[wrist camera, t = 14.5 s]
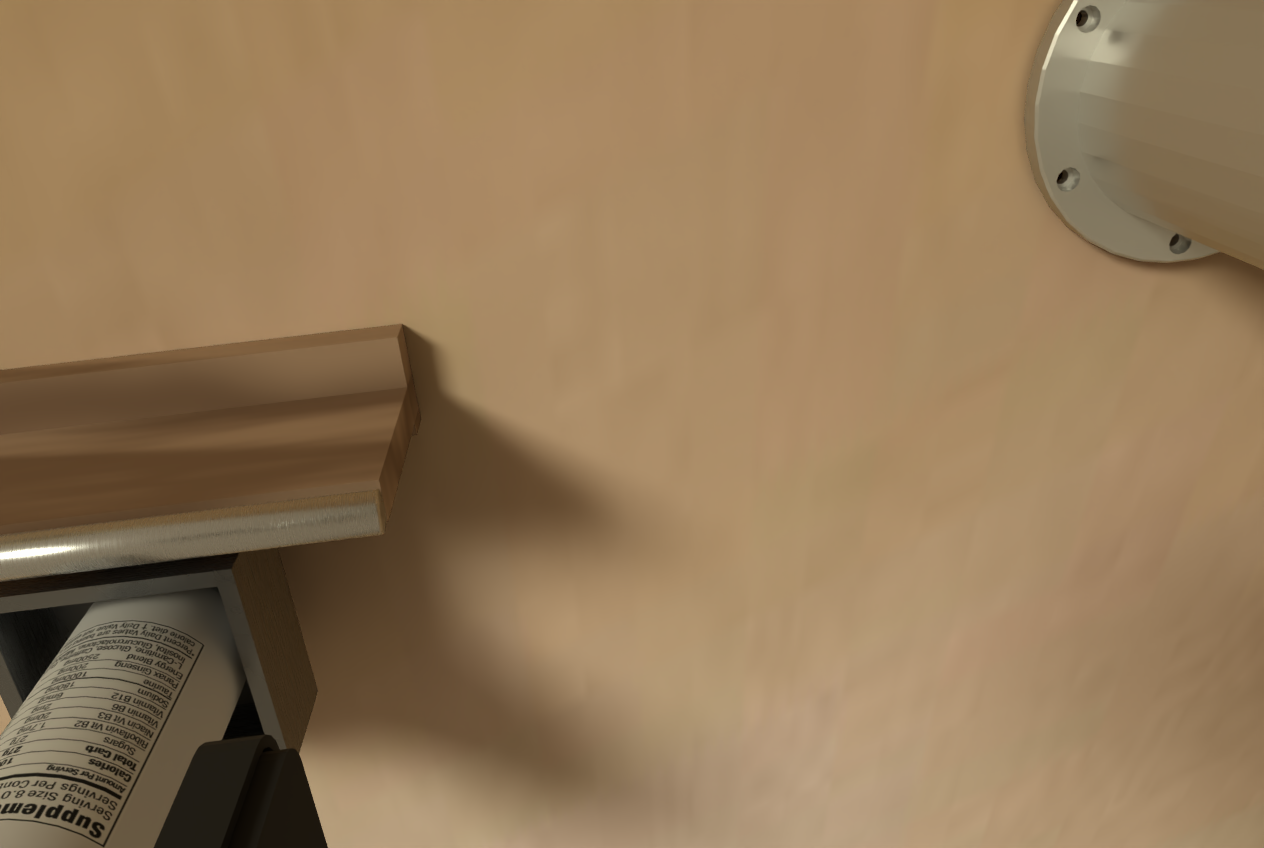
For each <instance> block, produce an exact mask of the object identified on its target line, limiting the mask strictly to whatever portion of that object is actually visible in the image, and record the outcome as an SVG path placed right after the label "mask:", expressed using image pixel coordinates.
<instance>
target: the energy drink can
mask: <svg viewBox="0 0 1264 848" xmlns="http://www.w3.org/2000/svg"><path fill="white" fill-rule="evenodd" d="M246 680H247V677H246V674H245V671H244V668H243V665H242V662H241V658H240V655H239V652H238V649H237V646H236V643H235V640H234V636H233V633H232V630H231V627H230V624H229V621H228V618H227V614H226V611H225V608H224V605H223V602H222V599H221V595H220V592H219V589H218V588H217V587H210V588H202V589H194V590H186V591H178V592H170V593H162V594H154V595H145V596H137V597H129V598H121V599H113V600H105V601H97V602H94V603H93V604H92V606H91V607H90V608H89V610H88V611H87V613H86V614H85V616H84V617H83V618H82V620H81V621H80V623H79V624H78V626H77V627H76V628H75V630H74V631H73V633H72V634H71V636H70V637H69V638H68V640H67V641H66V643H65V644H64V646H63V647H62V648H61V650H60V651H59V653H58V654H57V655H56V657H55V658H54V660H53V661H52V663H51V664H50V665H49V667H48V668H47V670H46V671H45V673H44V674H43V675H42V677H41V678H40V680H39V681H38V683H37V684H36V685H35V687H34V688H33V690H32V691H31V693H30V694H29V695H28V697H27V698H26V700H25V701H24V703H23V704H22V705H21V707H20V708H19V710H18V711H17V713H16V714H15V715H14V717H13V718H12V720H11V721H10V722H9V724H8V725H7V727H6V728H5V730H4V731H3V732H2V734H1V735H0V848H154V845H155V843H156V841H157V838H158V836H159V834H160V832H161V829H162V827H163V825H164V822H165V820H166V818H167V815H168V813H169V811H170V809H171V806H172V804H173V802H174V799H175V797H176V795H177V792H178V790H179V788H180V785H181V783H182V781H183V779H184V776H185V774H186V772H187V769H188V767H189V765H190V762H191V760H192V758H193V756H194V754H195V752H196V751H197V749H198V747H199V746H200V745H202V744H203V743H205V742H211V741H219V740H222V738H223V736H224V733H225V731H226V728H227V726H228V723H229V721H230V719H231V716H232V714H233V711H234V709H235V706H236V704H237V702H238V699H239V697H240V694H241V692H242V689H243V687H244V685H245V682H246Z"/></svg>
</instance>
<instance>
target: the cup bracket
mask: <svg viewBox="0 0 1264 848" xmlns="http://www.w3.org/2000/svg"><path fill="white" fill-rule="evenodd" d="M420 421H421V416H420V411H419V406H418V401H417V396H416V391H415V386H414V381H413V376H412V371H411V366H410V361H409V356H408V351H407V346H406V341H405V336H404V331H403V326H402V324H399V325H390V326H381V327H373V328H364V329H355V330H346V331H338V332H329V333H320V334H312V335H303V336H294V337H285V338H277V339H268V340H259V341H251V342H242V343H233V344H225V345H216V346H207V347H198V348H190V349H181V350H172V351H164V352H155V353H146V354H137V355H129V356H120V357H111V358H103V359H94V360H85V361H77V362H68V363H59V364H50V365H42V366H33V367H24V368H16V369H7V370H0V695H1V697H2V699H3V702H4V704H5V706H6V708H7V710H8V713H9V715H10V717H11V719H12V718H13V717H14V715H15V714H16V713H17V711H18V710H19V708H20V707H21V705H22V704H23V703H24V701H25V700H26V698H27V697H28V695H29V694H30V693H31V691H32V690H33V688H34V687H35V685H36V684H37V683H38V681H39V680H40V678H41V677H42V675H43V674H44V673H45V671H46V670H47V668H48V667H49V665H50V664H51V663H52V661H53V660H54V658H55V657H56V655H57V654H58V653H59V651H60V650H61V648H62V647H63V646H64V644H65V643H66V641H67V640H68V638H69V637H70V636H71V634H72V633H73V631H74V630H75V628H76V627H77V626H78V624H79V623H80V621H81V620H82V618H83V617H84V616H85V614H86V613H87V611H88V610H89V608H90V607H91V606H92V604H93V603H94V602H97V601H105V600H113V599H121V598H129V597H137V596H145V595H154V594H162V593H170V592H178V591H186V590H194V589H202V588H210V587H217V588H218V589H219V592H220V595H221V599H222V602H223V605H224V608H225V611H226V614H227V618H228V621H229V624H230V627H231V630H232V633H233V636H234V640H235V643H236V646H237V649H238V652H239V655H240V658H241V662H242V665H243V668H244V671H245V674H246V677H247V680H246V682H245V685H244V687H243V689H242V692H241V694H240V697H239V699H238V702H237V704H236V706H235V709H234V711H233V714H232V716H231V719H230V721H229V723H228V726H227V728H226V731H225V733H224V736H223V738H222V740H227V739H235V738H242V737H250V736H258V735H265V734H267V735H272V737H273V738H274V739H275V740H276V742H277V744H278V746H279V749H280V750H282V749H289V748H293V749H296V751H297V752H298V753H299V752H300V749H301V745H302V742H303V739H304V735H305V732H306V729H307V725H308V722H309V719H310V716H311V712H312V709H313V706H314V702H315V699H316V696H317V692H318V689H317V686H316V682H315V679H314V675H313V672H312V668H311V665H310V661H309V658H308V654H307V650H306V647H305V643H304V640H303V636H302V633H301V629H300V626H299V622H298V619H297V615H296V611H295V608H294V604H293V601H292V597H291V594H290V590H289V587H288V583H287V580H286V576H285V573H284V569H283V565H282V562H281V558H280V555H279V551H278V548H279V547H287V546H295V545H304V544H312V543H320V542H328V541H336V540H344V539H352V538H361V537H369V536H377V535H383V534H384V533H385V528H386V522H388V521H389V517H390V513H391V509H392V506H393V502H394V498H395V494H396V491H397V487H398V483H399V479H400V476H401V472H402V468H403V464H404V461H405V457H406V453H407V449H408V446H409V442H410V438H411V435H417V433H418V429H419V425H420Z"/></svg>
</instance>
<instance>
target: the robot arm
mask: <svg viewBox="0 0 1264 848" xmlns="http://www.w3.org/2000/svg"><path fill="white" fill-rule="evenodd" d="M1079 12H1081V14H1082V18H1081V21H1080V22H1079V23H1078V24H1077V25H1076V18H1077V15H1078V13H1079ZM1024 124H1025V137H1026V149H1027V154H1028V158H1029V161H1030V165H1031V168H1032V172H1033V175H1034V179H1035V181H1036V183H1037V185H1038V187H1039V189H1040V191H1041V192H1042V194H1043V196H1044V198H1045V200H1046V202H1047V204H1048V206H1049V207H1050V208H1051V209H1052V210H1053V211H1054V212H1055V214H1056V215H1057V216H1058V217H1059V218H1060V219H1061V220H1062V222H1063V223H1064V224H1065V225H1066V226H1067V227H1068V228H1070V229H1071V230H1072V231H1074V232H1075V233H1077V234H1078V235H1079V236H1081V237H1082V238H1084V239H1085V240H1087V241H1088V242H1089V243H1092V244H1094V245H1096V246H1098V247H1100V248H1102V249H1104V250H1106V251H1108V252H1110V253H1112V254H1115V255H1119V256H1123V257H1126V258H1130V259H1133V260H1137V261H1144V262H1160V263H1172V262H1180V261H1188V260H1196V259H1200V258H1204V257H1207V256H1210V255H1213V254H1216V253H1220V252H1223V253H1225V254H1227V255H1230V256H1232V257H1234V258H1237V259H1239V260H1241V261H1244V262H1246V263H1249V264H1251V265H1253V266H1256V267H1258V268H1260V269H1263V270H1264V0H1063V1H1062V3H1061V4H1060V6H1059V7H1058V9H1057V10H1056V12H1055V13H1054V15H1053V17H1052V19H1051V21H1050V23H1049V25H1048V28H1047V30H1046V32H1045V34H1044V36H1043V38H1042V41H1041V43H1040V45H1039V47H1038V49H1037V53H1036V56H1035V60H1034V64H1033V67H1032V71H1031V74H1030V78H1029V81H1028V86H1027V95H1026V105H1025V115H1024ZM1062 171H1063V175H1062V178H1061V179H1060V180H1059V181H1057V178H1058V175H1059V174H1060V173H1061V172H1062ZM154 848H328V847H327V843H326V840H325V837H324V833H323V830H322V827H321V824H320V820H319V817H318V814H317V810H316V807H315V804H314V800H313V797H312V794H311V790H310V787H309V784H308V781H307V777H306V774H305V771H304V767H303V764H302V761H301V758H300V756H299V753H298V752H297V751H296V749H293V748H289V749H282V750H280V749H279V746H278V744H277V742H276V740H275V739H274V738H273V737H272V735H267V734H265V735H258V736H250V737H242V738H235V739H227V740H219V741H211V742H205V743H203V744H202V745H200V746H199V747H198V749H197V751H196V752H195V754H194V756H193V758H192V760H191V762H190V765H189V767H188V769H187V772H186V774H185V776H184V779H183V781H182V783H181V785H180V788H179V790H178V792H177V795H176V797H175V799H174V802H173V804H172V806H171V809H170V811H169V813H168V815H167V818H166V820H165V822H164V825H163V827H162V829H161V832H160V834H159V836H158V838H157V841H156V843H155V845H154Z"/></svg>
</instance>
